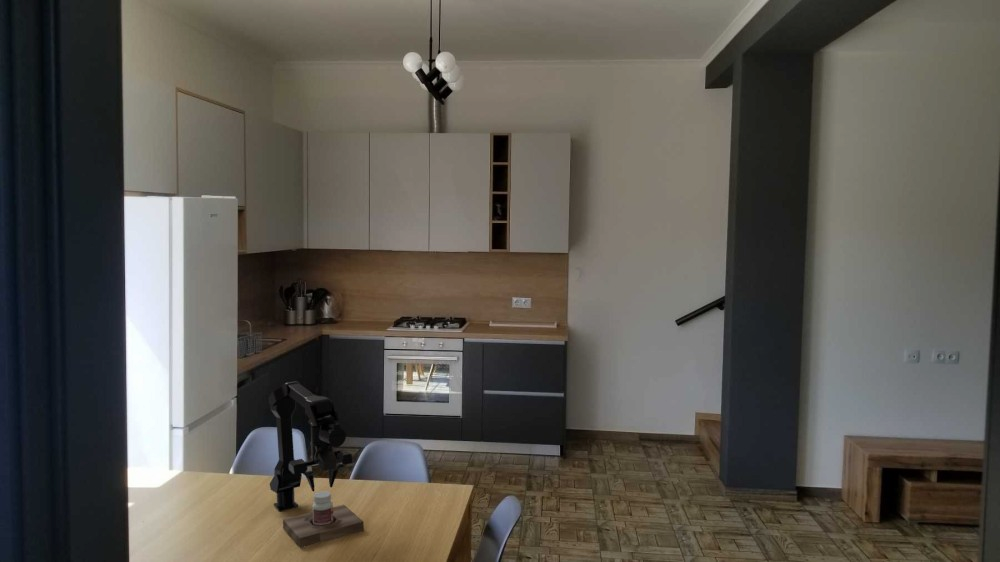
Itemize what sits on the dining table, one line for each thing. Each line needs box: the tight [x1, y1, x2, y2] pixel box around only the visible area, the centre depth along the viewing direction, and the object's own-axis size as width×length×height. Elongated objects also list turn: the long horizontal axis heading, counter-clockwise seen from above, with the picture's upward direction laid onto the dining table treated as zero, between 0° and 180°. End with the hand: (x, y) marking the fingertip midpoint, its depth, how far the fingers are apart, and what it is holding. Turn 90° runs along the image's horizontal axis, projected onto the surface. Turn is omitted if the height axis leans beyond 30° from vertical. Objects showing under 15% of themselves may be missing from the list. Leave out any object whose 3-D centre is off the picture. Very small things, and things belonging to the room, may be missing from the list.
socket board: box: [282, 504, 365, 549], centre depth 214 cm, size 16×20×3 cm
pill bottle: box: [311, 490, 334, 526], centre depth 213 cm, size 6×6×11 cm
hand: (322, 489), depth 213 cm, fingers open, 5 cm apart
